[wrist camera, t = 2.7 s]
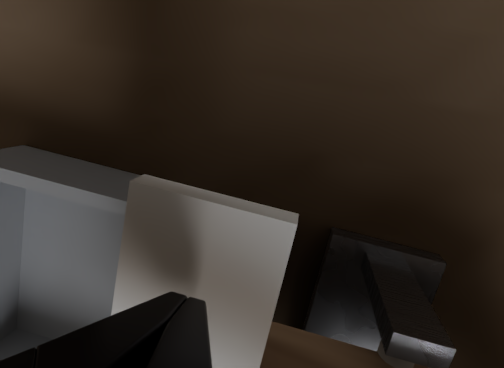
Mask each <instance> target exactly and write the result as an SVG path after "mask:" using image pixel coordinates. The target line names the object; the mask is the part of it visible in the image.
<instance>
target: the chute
mask: <svg viewBox="0 0 504 368" xmlns="http://www.w3.org/2000/svg"><path fill="white" fill-rule="evenodd" d="M298 217H299V214H297V213H293V212H290V211H286V210H282V209H278V208H274V207H270V206H266V205H262V204H259V203H255V202H251V201H247V200H243V199H239V198H235V197H231V196H228V195H224V194H220V193H216V192H212V191H208V190H204V189H200V188H196V187H193V186H189V185H185V184H181V183H177V182H173V181H169V180H165V179H162V178H158V177H154V176H150V175H146V174H144V175H141V176H139V177H137V178H135V179H133V180H130V183H129V190H128V197H127V204H126V211H125V218H124V226H123V233H122V240H121V247H120V254H119V261H118V269H117V276H116V283H115V290H114V297H113V304H112V312H111V315H114V314H116V313H119V312H121V311H123V310H126V309H128V308H131V307H133V306H136V305H138V304H141V303H143V302H146V301H148V300H150V299H153V298H155V297H158V296H160V295H163V294H165V293H168V292H171V291H173V292H176V293H180V294H183V295H186V296H187V298H189V297H194V298H197V299H201V300H204V301H205V302H206V307H207V317H208V328H209V338H210V349H211V359H212V368H429V367H425V366H422V365H418V364H415V363H412V362H408V361H405V360H401V359H398V358H394V357H391V356H387V355H385V351H384V348H383V344H382V341H380V344H379V347H378V350H377V351H373V350H370V349H366V348H363V347H359V346H356V345H352V344H349V343H345V342H342V341H339V340H335V339H332V338H328V337H325V336H321V335H318V334H314V333H311V332H307V331H304V330H300V329H297V328H294V327H290V326H287V325H283V324H280V323H276V322H273V321H272V319H273V315H274V312H275V308H276V304H277V300H278V297H279V293H280V289H281V285H282V282H283V278H284V274H285V270H286V266H287V263H288V259H289V255H290V251H291V248H292V244H293V240H294V236H295V232H296V229H297V225H298Z"/></svg>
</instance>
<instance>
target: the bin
mask: <svg viewBox="0 0 504 368" xmlns="http://www.w3.org/2000/svg"><path fill="white" fill-rule="evenodd" d="M139 176H141V175H137V174H134V173H130V172H126V171H122V170H118V169H114V168H110V167H106V166H103V165H99V164H95V163H91V162H87V161H83V160H79V159H76V158H72V157H68V156H64V155H60V154H56V153H52V152H48V151H45V150H41V149H37V148H33V147H29V146H25V145H21V146H15V147H9V148H3V149H0V360H2V359H5V358H7V357H10V356H12V355H15V354H17V353H20V352H22V351H25V350H27V349H30V348H32V347H36V350H37V346H38V345H40V344H42V343H45V342H47V341H50V340H52V339H55V338H57V337H60V336H62V335H64V334H67V333H69V332H72V331H74V330H77V329H79V328H82V327H84V326H87V325H89V324H92V323H94V322H96V321H99V320H101V319H104V318H106V317H109V316H111V312H112V304H113V297H114V290H115V283H116V276H117V269H118V261H119V254H120V247H121V240H122V233H123V226H124V218H125V211H126V204H127V197H128V190H129V183H130V180H133V179H135V178H137V177H139Z"/></svg>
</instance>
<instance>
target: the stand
mask: <svg viewBox="0 0 504 368" xmlns="http://www.w3.org/2000/svg"><path fill="white" fill-rule="evenodd" d="M446 265H447V264H446V262H445V261H444V260H443V259H442V257H441V256H440V255H439V254H435V253H431V252H427V251H423V250H419V249H415V248H412V247H408V246H404V245H400V244H396V243H392V242H388V241H385V240H381V239H377V238H373V237H369V236H365V235H361V234H358V233H354V232H350V231H346V230H342V229H338V228H334V227H332V229H331V232H330V236H329V239H328V243H327V246H326V249H325V253H324V256H323V260H322V263H321V267H320V270H319V274H318V277H317V280H316V284H315V287H314V291H313V294H312V298H311V301H310V304H309V308H308V311H307V315H306V318H305V322H304V325H303V329H302V330H304V331H307V332H311V333H314V334H318V335H321V336H325V337H328V338H332V339H335V340H339V341H342V342H345V343H349V344H352V345H356V346H359V347H363V348H366V349H370V350H373V351H377V350H378V347H379V344H380V341H382V344H383V348H384V351H385V355H387V356H391V357H394V358H398V359H401V360H405V361H408V362H412V363H415V364H418V365H422V366H425V367H429V368H449V366H450V364H451V362H452V359H453V357H454V354H455V352H456V348H455V347H454V345H453V343H452V341H451V340H450V338H449V336H448V334H447V333H446V331H445V329H444V327H443V325H442V324H441V322H440V320H439V318H438V317H437V315H436V313H435V311H434V310H433V308H432V306H431V304H432V301H433V299H434V296H435V293H436V291H437V288H438V286H439V283H440V280H441V278H442V275H443V273H444V270H445V267H446Z"/></svg>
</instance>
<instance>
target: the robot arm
mask: <svg viewBox="0 0 504 368" xmlns="http://www.w3.org/2000/svg"><path fill="white" fill-rule="evenodd" d="M0 368H212V359H211V349H210V338H209V328H208V317H207V307H206V302H205V301H204V300H201V299H197V298H194V297H189V298H187V296H186V295H183V294H180V293H176V292H173V291H171V292H168V293H165V294H163V295H160V296H158V297H155V298H153V299H150V300H148V301H146V302H143V303H141V304H138V305H136V306H133V307H131V308H128V309H126V310H123V311H121V312H119V313H116V314H114V315H111V316H109V317H106V318H104V319H101V320H99V321H96V322H94V323H92V324H89V325H87V326H84V327H82V328H79V329H77V330H74V331H72V332H69V333H67V334H64V335H62V336H60V337H57V338H55V339H52V340H50V341H47V342H45V343H42V344H40V345H38V346H37V350H36V347H32V348H30V349H27V350H25V351H22V352H20V353H17V354H15V355H12V356H10V357H7V358H5V359H2V360H0Z"/></svg>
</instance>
